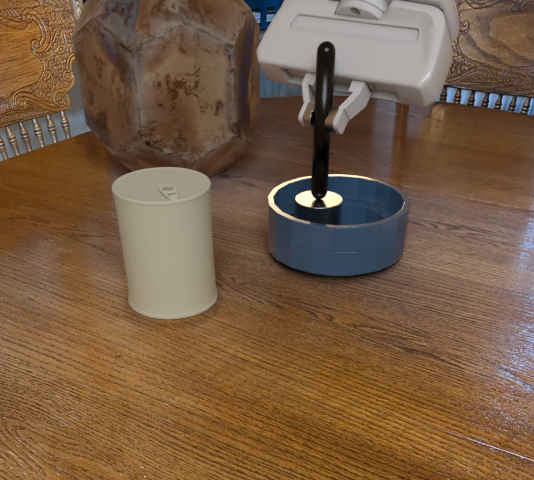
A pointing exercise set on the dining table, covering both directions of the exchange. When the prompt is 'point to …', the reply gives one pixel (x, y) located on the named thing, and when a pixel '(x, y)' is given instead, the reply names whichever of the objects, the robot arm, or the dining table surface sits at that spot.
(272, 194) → the bowl
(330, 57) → the black handled meat pounder
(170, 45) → the planter
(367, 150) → the dining table surface
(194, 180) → the can
